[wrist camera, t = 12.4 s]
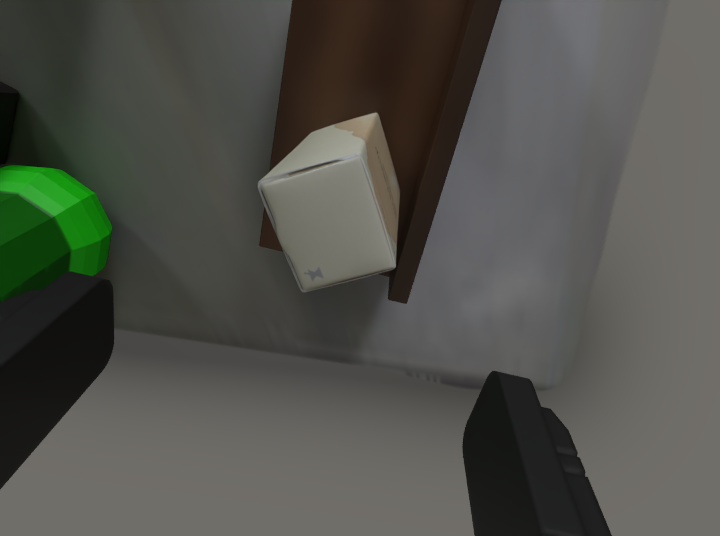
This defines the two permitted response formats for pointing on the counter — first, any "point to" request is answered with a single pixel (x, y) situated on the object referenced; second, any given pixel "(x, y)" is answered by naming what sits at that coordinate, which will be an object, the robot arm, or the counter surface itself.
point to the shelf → (386, 94)
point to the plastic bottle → (48, 229)
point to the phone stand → (6, 117)
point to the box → (336, 204)
